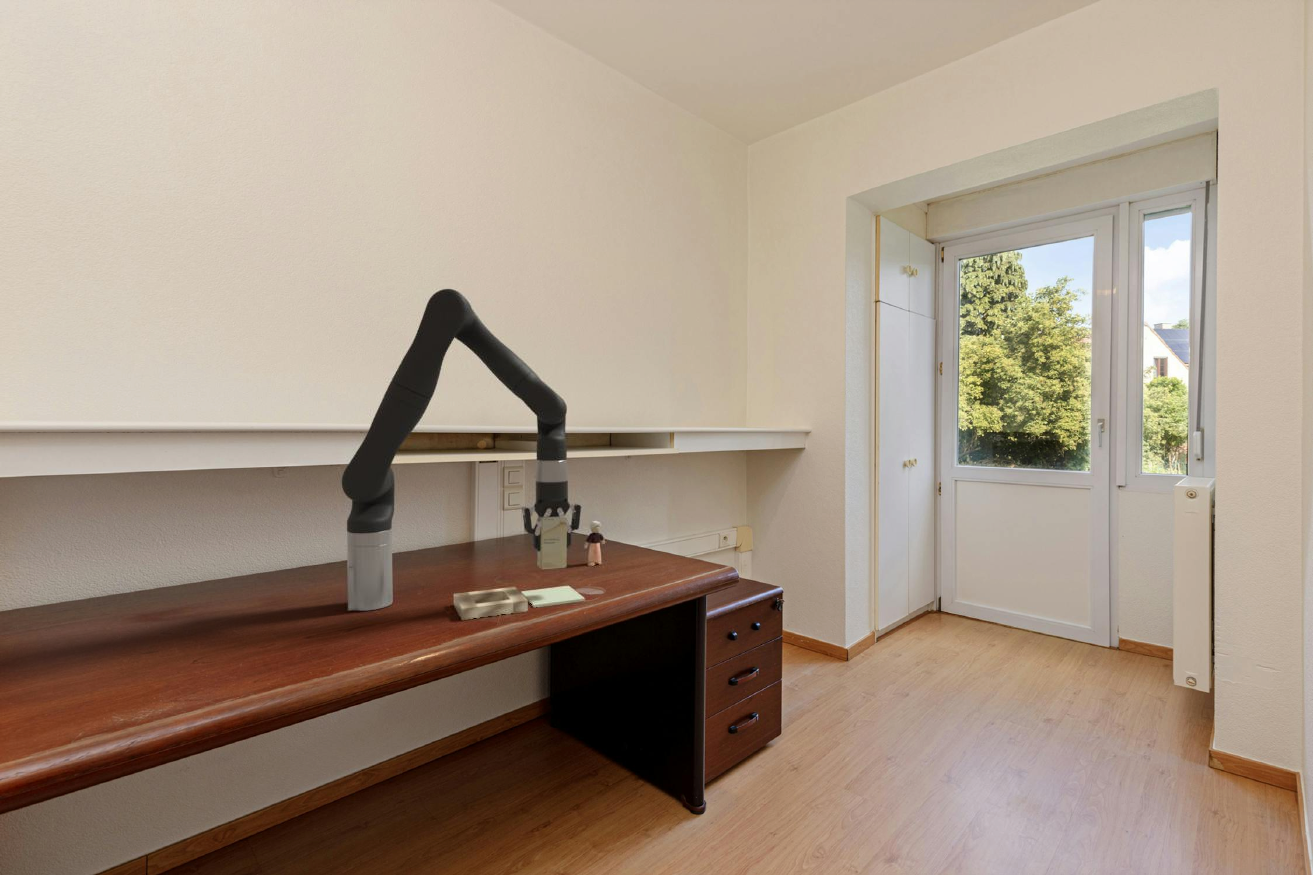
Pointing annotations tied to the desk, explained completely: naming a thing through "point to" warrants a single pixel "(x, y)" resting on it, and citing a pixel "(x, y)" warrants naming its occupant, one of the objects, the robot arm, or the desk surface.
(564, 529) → the skincare box
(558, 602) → the pad
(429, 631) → the desk surface
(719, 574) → the desk surface
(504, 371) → the robot arm
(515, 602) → the pocket holder
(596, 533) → the grandmother figurine
